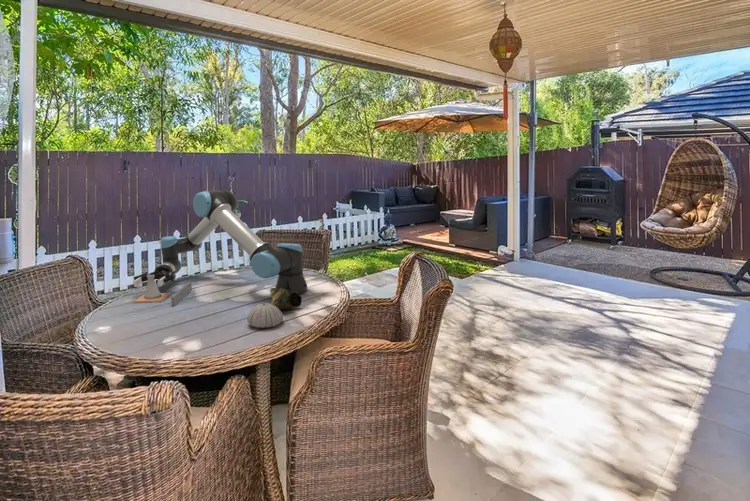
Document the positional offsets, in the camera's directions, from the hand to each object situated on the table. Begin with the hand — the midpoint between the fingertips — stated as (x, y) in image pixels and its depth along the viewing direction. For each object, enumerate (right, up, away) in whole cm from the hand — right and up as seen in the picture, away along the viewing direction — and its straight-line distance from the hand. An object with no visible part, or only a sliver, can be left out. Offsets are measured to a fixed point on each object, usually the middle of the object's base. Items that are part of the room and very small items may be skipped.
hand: (147, 283), depth 197 cm
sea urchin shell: (+59, -14, -28) cm, 67 cm away
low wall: (+12, -7, +7) cm, 16 cm away
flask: (0, -7, +6) cm, 9 cm away
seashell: (+64, -11, -12) cm, 66 cm away
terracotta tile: (0, -7, +6) cm, 9 cm away
